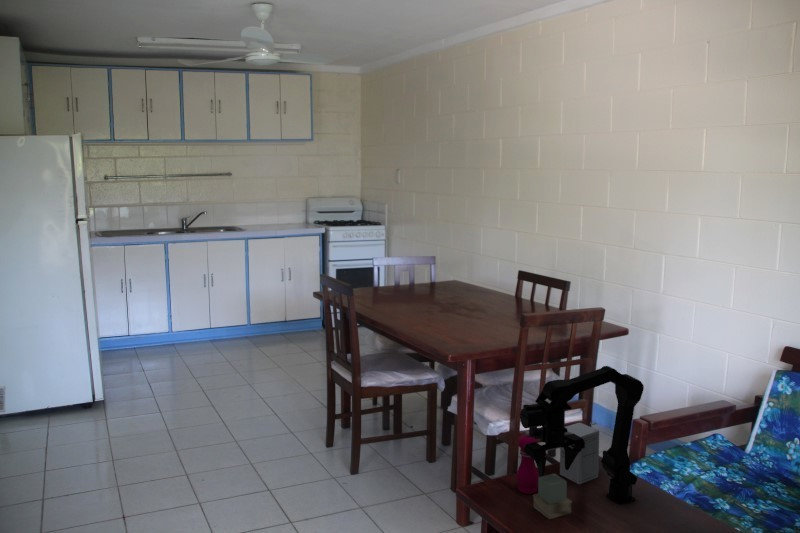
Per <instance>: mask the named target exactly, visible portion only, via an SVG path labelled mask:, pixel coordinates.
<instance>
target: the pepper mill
mask: <svg viewBox="0 0 800 533" xmlns="http://www.w3.org/2000/svg"><path fill="white" fill-rule="evenodd" d="M533 442H536V443H538V439H536V440H535V438H531V437H530V435H529V430H526V431H525V432H524V434H523V435H521V436H520V437H519V439H518V446H519V448H520V449H519V451H520V452H519V454H520V456H521V457H520V463H519V466H518V468H517V471H516V475H515V476H516V477H515V478H516V480H517V481H518V483H517V490H518V491H519V493H523V494H526V495H531V494H532V495H533V494H536V493H537V491H538V477H540V473H539V470H538V467H537V465H536V462H535V460H534V459H533V458H532V457H530V456H529V455H527V454H526V453H524V446H525V445H526V444H529V443H533Z"/></svg>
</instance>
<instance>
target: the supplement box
mask: <svg viewBox="0 0 800 533" xmlns="http://www.w3.org/2000/svg"><path fill="white" fill-rule="evenodd" d="M565 428H567V432H565V435H569V434H576V435H577V436H579V437H581V438H583V439H584V441H585V448H583V449H582V450H581V451H580V452H579V453H578V455H577V456H576V458H575V459H574V461H573V463H572V464H571V466H570V468H569V470H566V469H565V450H564V448H563V447H562V448H559V449H560V450H559V475H560V476H562V477H564V478H566V479H568V480H569V481H572V482H573V483H576V484H578V485H581V484H585V483H587V482H590V481H592V480H595V479H598V478H599V469H600V468H599V465H600V464H599V462H600V461H599V457H600V430H599V429H597V428H594V427H591V426H589V425H588V424H585V423H582V422H577V423H573V424H569V425H567V426H566V425H565Z"/></svg>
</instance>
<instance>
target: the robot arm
mask: <svg viewBox="0 0 800 533" xmlns="http://www.w3.org/2000/svg"><path fill="white" fill-rule="evenodd" d="M608 383H612V384H613V385H614V392H615V393H614V394H615V397H616V400H617V407H616V413H615V419H614V425H613V432H612V438H611V443H610V447H609V448H608V449H607V450H603V451H602V457H601V461H600V463H601V464H602V465H601V466H602V468H603V469H604V471H605V472H606V475H607V476H609V477H610V479H609V484H608V493H606V495H605V496H606V497H608V498H609V499H611V500H613V501H614V502H616V503H617V504H618V505H621V504H626V503H631V502H635V501H636V498H635V497H634V496H633V485H637V484H636V483H637V481H638V477H637V476H636V475H635V474H633V472H632V471H631V461H630V460H631V459H630V457H629V453H628V448H629V442H630V437H631V429H632V423H633V417H634V411H635V407H636V405H638V403H639V402H640V401H641V399H642V395H643V392H644V389H645V386H644V384H643V382H642V381H641V380H639V379H638V378H636V377H634V376H632V375H629V374H626V373H624V374H623V373H620V372H618V370H616V369H615V368H613V367H612V366H608V365H604V366H602V367H601V368H598V369H596V370H593V371H590V372H587V373H584V374H581V375H578V376H575V377H572V378H568V379H554V380H549V381H547V382H545V384H544V385H543V388H542V390H541V392H540V393H539V395H538V396H537V398H536V399H535V403H532V404H523V407H522V409H521V410H520V413H519V418H520V419H519V420H520V424H521V425H522V427H523V428H524V429H528V431H529V435H530V437H531V438H535V440H540V442H541V443H545V444H540V443H538V442H537V443H536V442H533V443H529V444H526V445H525V446H524V453H526V454H527V455H529V456H530V457H532V458H533V459H534V462H535V465H536V468H537V471H538V474H539V476H540V477H542V476H545V472H546V465H547V457H546V455H547V452H548V451H549V452H550V451H553V450H557V449H560V448H562V447H563V448H564V450H565V469H566V470H569V468H570V466H571V464H572V463H573V461H574V459H575V458H576V456H577V455H578V453H579V452H580V451H581V450H582V449H583V448H585V441H584V439H583V438H581V437H579V436H577V435H576V434H569V435H565V432H567V428H565V427H566V424H565V422H566V421H565V420H566V416H565V415H566V411H567V410H572V409H573V408H572V407H573V406H570V404H568V402H570V401H572V399H573V398H574V397H575V396H576V395H578V394H581V393H584V392H585V391H589V390H592V389H593V388H597V387H600V386H603V385H606V384H608ZM547 400H548V401H547Z"/></svg>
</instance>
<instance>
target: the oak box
mask: <svg viewBox="0 0 800 533" xmlns="http://www.w3.org/2000/svg"><path fill="white" fill-rule="evenodd" d="M532 497H533V509H535V510H537V511H538V512H539V513H540V514H542V515H543V516H544V517H545V518H547V519H548V520H553V519H555V518H559V517H563V516H567V515H570V514H572V503H573V500H572V499H570V498H568V497H567V496H566V500H565V501H561V502H557V503H554V504H549V503H547V502H546V501H545V500H543V499H542V498H541V497H539V496H538V493H534V494H532Z"/></svg>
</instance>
